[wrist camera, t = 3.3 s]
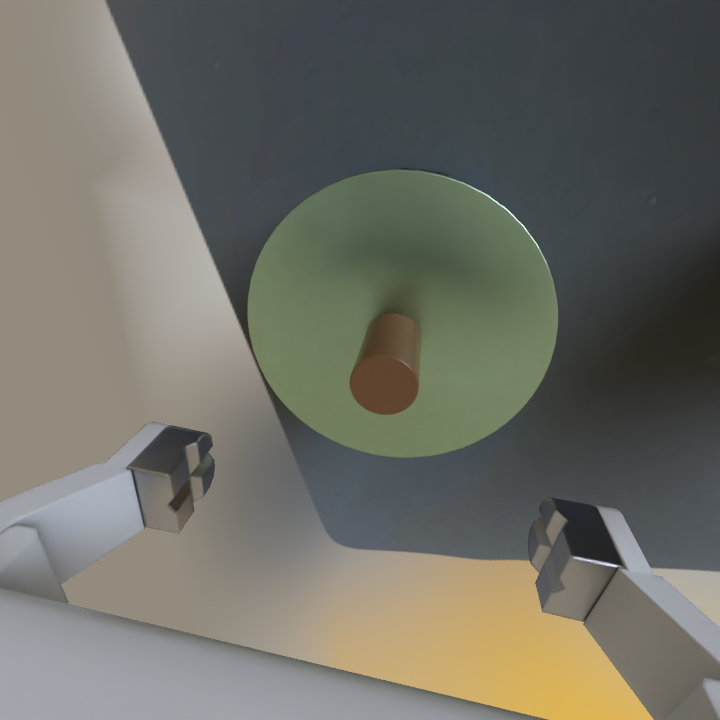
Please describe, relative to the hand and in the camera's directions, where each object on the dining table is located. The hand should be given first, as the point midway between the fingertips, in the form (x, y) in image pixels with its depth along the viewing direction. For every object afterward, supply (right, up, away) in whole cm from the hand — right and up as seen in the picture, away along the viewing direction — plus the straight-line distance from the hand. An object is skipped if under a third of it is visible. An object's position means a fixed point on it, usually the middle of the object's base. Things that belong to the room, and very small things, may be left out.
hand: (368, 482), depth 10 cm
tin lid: (+1, +4, +8) cm, 9 cm away
